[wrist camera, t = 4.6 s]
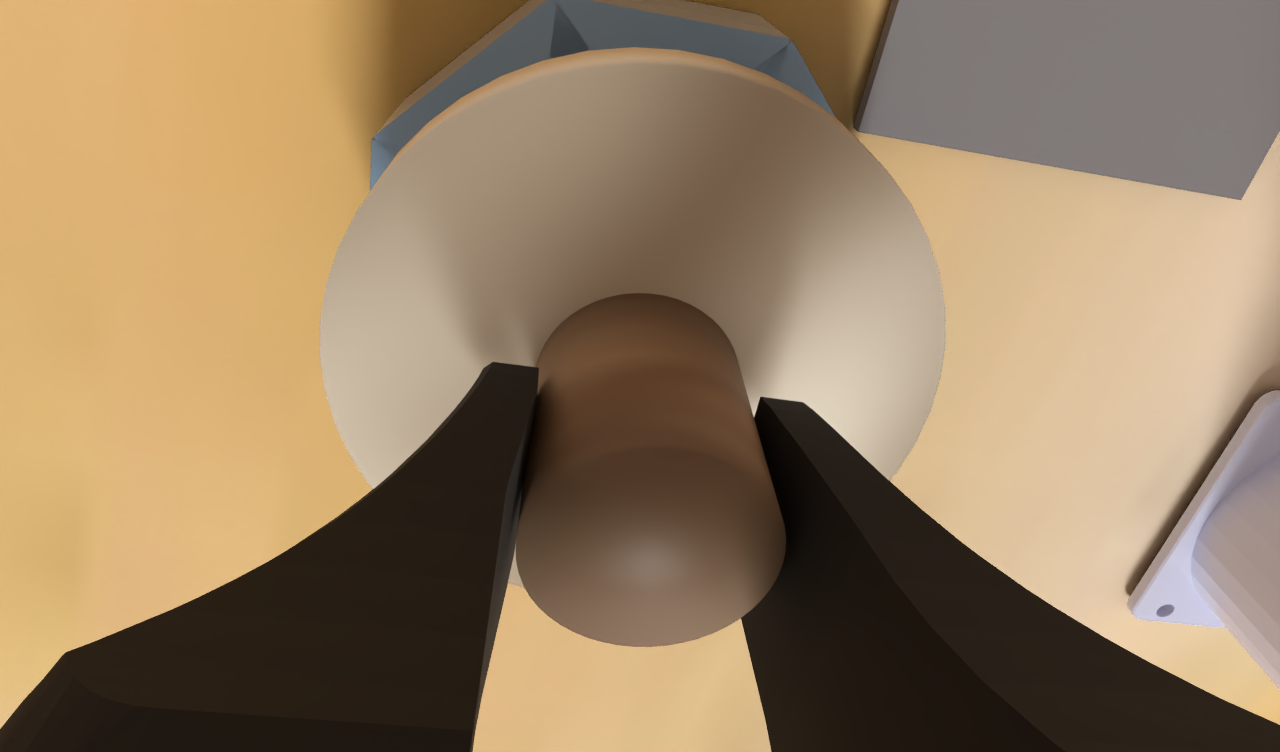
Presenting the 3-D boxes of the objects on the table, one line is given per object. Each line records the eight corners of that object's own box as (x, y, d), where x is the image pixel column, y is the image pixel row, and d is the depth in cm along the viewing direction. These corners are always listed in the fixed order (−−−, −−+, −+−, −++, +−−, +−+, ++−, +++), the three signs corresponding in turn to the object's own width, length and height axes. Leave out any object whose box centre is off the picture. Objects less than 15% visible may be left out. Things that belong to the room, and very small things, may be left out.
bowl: (893, 40, 17) (948, 68, 14) (772, 430, 22) (797, 504, 19) (411, -54, 16) (375, -41, 13) (392, 382, 20) (363, 454, 18)
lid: (1030, 143, 12) (1242, 285, 8) (800, 594, 16) (864, 823, 12) (368, -40, 10) (231, 26, 6) (318, 517, 15) (221, 751, 11)
